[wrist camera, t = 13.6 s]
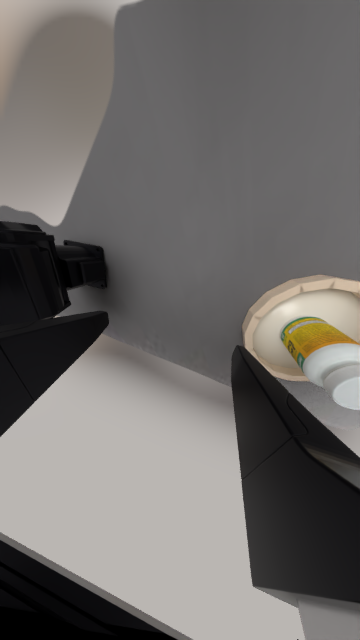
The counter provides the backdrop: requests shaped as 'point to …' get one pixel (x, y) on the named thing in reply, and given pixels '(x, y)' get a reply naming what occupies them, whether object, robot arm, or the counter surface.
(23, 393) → the robot arm
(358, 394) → the supplement bottle
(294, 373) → the round tray
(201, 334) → the counter surface
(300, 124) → the counter surface
